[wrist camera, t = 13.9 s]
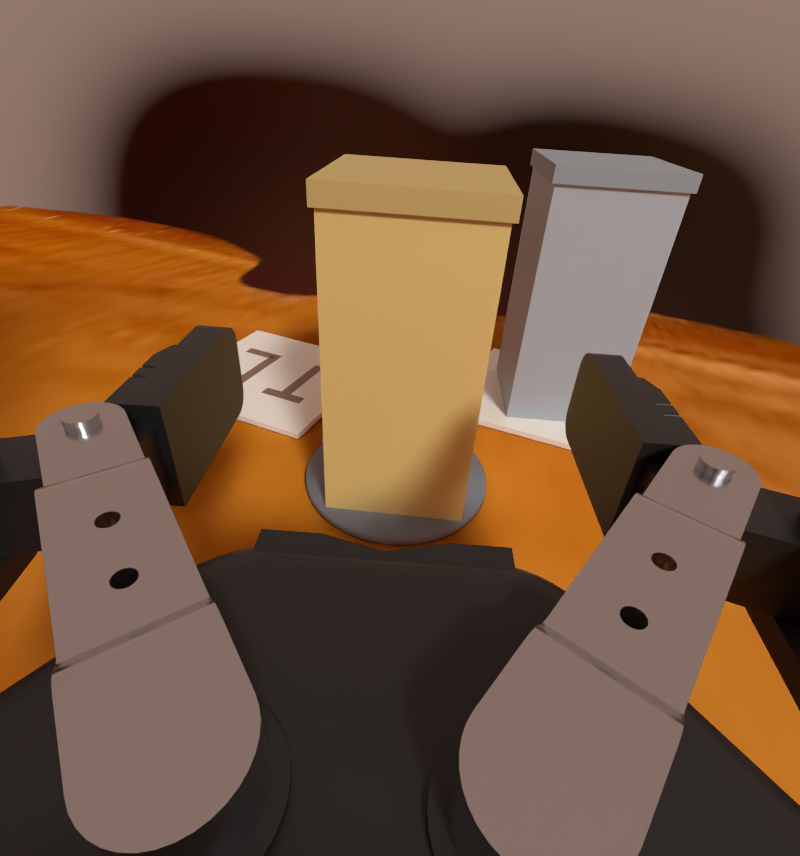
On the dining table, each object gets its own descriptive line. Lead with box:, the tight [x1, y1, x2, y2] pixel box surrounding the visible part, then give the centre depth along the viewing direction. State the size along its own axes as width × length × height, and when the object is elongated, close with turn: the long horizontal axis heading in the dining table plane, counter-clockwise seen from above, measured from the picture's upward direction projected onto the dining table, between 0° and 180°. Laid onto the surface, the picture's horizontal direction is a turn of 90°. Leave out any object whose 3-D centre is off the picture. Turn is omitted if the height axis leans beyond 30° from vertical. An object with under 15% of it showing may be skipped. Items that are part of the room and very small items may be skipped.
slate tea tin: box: [497, 149, 703, 422], centre depth 26 cm, size 6×6×12 cm
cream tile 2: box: [478, 348, 571, 450], centre depth 29 cm, size 9×9×1 cm
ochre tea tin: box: [306, 154, 523, 521], centre depth 19 cm, size 6×6×12 cm
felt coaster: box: [306, 443, 486, 545], centre depth 23 cm, size 8×8×1 cm
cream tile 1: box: [237, 331, 322, 439], centre depth 30 cm, size 9×9×1 cm
